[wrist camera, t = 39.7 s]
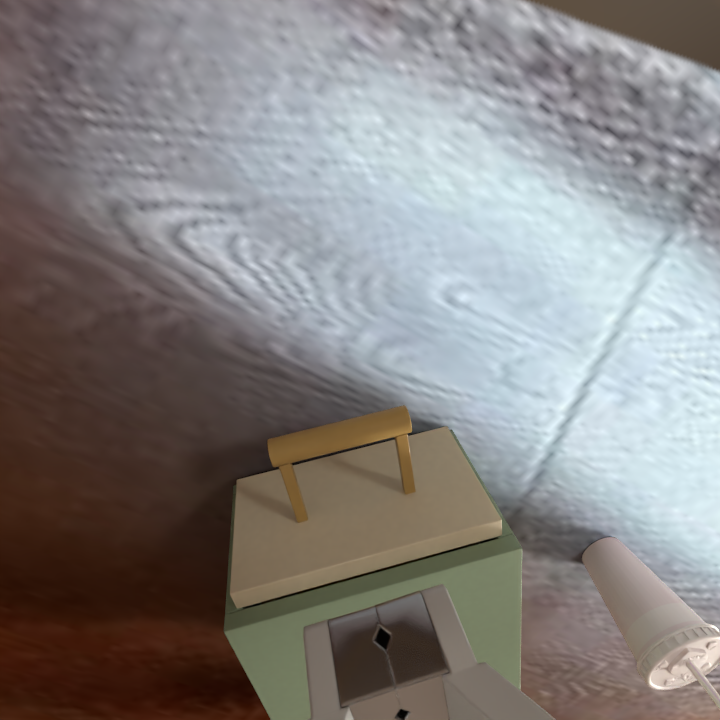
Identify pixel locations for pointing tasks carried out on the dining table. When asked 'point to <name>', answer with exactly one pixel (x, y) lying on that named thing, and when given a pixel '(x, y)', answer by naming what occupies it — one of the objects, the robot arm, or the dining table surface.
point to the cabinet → (453, 569)
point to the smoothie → (653, 620)
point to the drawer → (353, 506)
